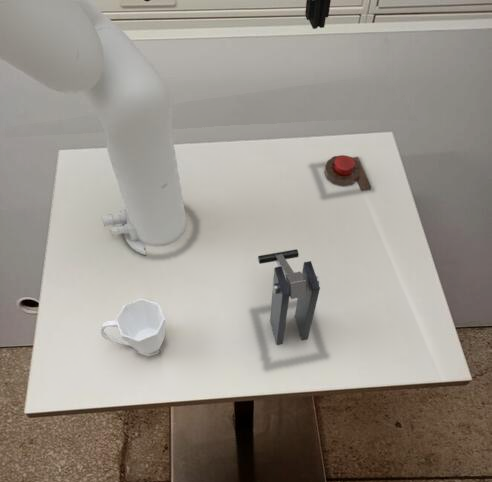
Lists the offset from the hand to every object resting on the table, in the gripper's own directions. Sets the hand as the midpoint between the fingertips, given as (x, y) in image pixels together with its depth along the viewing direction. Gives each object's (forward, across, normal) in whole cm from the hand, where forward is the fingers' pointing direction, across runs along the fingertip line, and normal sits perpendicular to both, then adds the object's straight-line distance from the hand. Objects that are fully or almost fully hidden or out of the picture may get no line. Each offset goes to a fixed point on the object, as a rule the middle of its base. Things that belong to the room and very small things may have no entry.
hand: (315, 22), depth 72 cm
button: (+25, +7, -5) cm, 26 cm away
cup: (+27, -34, -32) cm, 54 cm away
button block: (+27, +7, -5) cm, 28 cm away
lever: (+16, -11, -32) cm, 37 cm away
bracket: (+27, -11, -35) cm, 46 cm away
